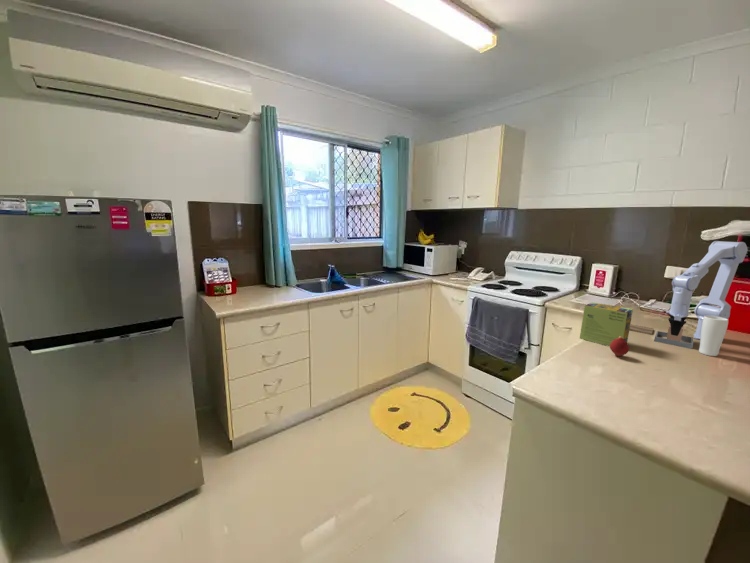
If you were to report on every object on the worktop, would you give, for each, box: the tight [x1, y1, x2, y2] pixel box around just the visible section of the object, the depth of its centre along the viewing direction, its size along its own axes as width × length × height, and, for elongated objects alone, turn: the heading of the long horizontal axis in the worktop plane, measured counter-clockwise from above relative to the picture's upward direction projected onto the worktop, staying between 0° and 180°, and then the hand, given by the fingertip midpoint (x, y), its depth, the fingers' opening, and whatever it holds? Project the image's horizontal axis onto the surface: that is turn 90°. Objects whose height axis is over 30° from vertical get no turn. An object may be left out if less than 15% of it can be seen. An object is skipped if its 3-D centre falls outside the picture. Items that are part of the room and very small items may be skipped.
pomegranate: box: [609, 336, 630, 357], centre depth 121 cm, size 6×6×8 cm
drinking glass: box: [698, 316, 729, 357], centre depth 125 cm, size 7×7×15 cm
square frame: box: [653, 330, 694, 349], centre depth 140 cm, size 12×12×2 cm
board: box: [629, 323, 655, 336], centre depth 155 cm, size 10×10×1 cm
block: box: [666, 323, 684, 342], centre depth 139 cm, size 4×4×7 cm
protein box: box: [579, 302, 634, 347], centre depth 137 cm, size 10×15×16 cm
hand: (674, 333), depth 139 cm, fingers open, 7 cm apart
